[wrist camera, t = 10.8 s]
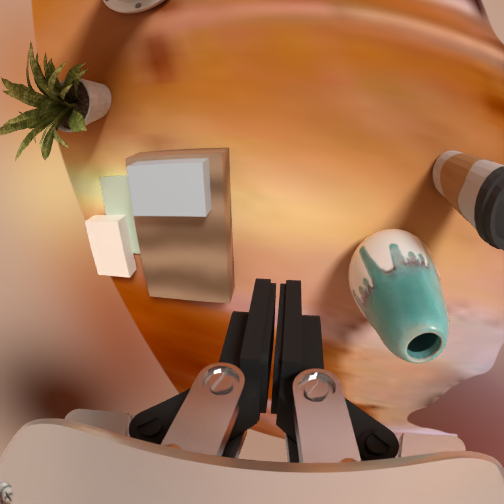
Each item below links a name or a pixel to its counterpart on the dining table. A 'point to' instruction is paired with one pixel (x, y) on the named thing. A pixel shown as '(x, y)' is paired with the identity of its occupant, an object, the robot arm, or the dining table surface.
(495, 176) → the coffee cup
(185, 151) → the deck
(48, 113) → the house plant
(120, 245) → the cream block
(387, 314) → the vase
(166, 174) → the gray rectangular block
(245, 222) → the dining table surface
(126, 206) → the mat
